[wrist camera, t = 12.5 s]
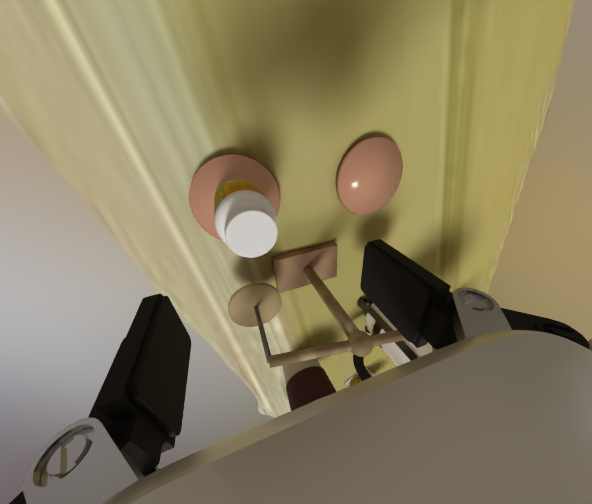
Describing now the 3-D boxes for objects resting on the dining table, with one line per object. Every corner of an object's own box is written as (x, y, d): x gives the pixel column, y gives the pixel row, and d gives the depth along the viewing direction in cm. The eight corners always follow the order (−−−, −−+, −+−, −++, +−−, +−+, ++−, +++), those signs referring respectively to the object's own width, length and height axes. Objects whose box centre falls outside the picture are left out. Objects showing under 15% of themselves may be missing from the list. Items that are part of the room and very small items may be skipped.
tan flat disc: (175, 160, 21) (173, 161, 20) (271, 148, 24) (274, 149, 22) (205, 245, 26) (205, 250, 25) (281, 229, 29) (284, 232, 28)
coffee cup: (299, 338, 41) (336, 425, 29) (327, 351, 47) (369, 429, 34) (266, 371, 43) (288, 467, 30) (297, 379, 48) (327, 464, 36)
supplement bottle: (213, 174, 22) (213, 197, 14) (264, 179, 24) (291, 202, 16) (214, 223, 24) (215, 267, 16) (260, 224, 26) (281, 264, 18)
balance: (372, 230, 34) (483, 296, 20) (368, 263, 38) (461, 339, 24) (220, 268, 28) (228, 398, 14) (232, 303, 32) (247, 436, 18)
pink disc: (334, 141, 26) (339, 141, 24) (401, 133, 28) (408, 133, 27) (333, 217, 31) (338, 220, 30) (390, 205, 33) (396, 207, 32)
